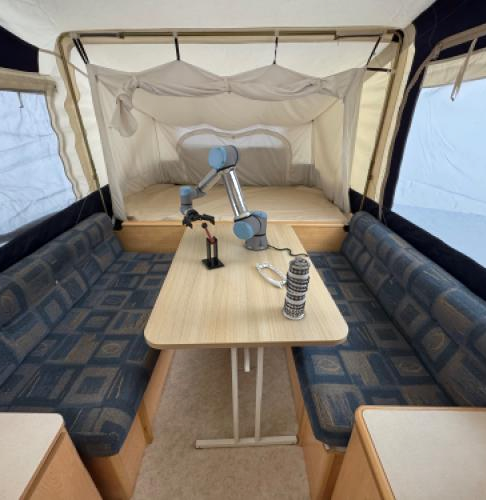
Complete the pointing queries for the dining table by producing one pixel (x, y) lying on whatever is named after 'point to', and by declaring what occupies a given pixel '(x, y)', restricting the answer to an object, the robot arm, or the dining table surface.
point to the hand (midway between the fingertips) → (203, 224)
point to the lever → (204, 226)
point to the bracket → (213, 261)
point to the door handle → (269, 277)
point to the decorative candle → (296, 288)
